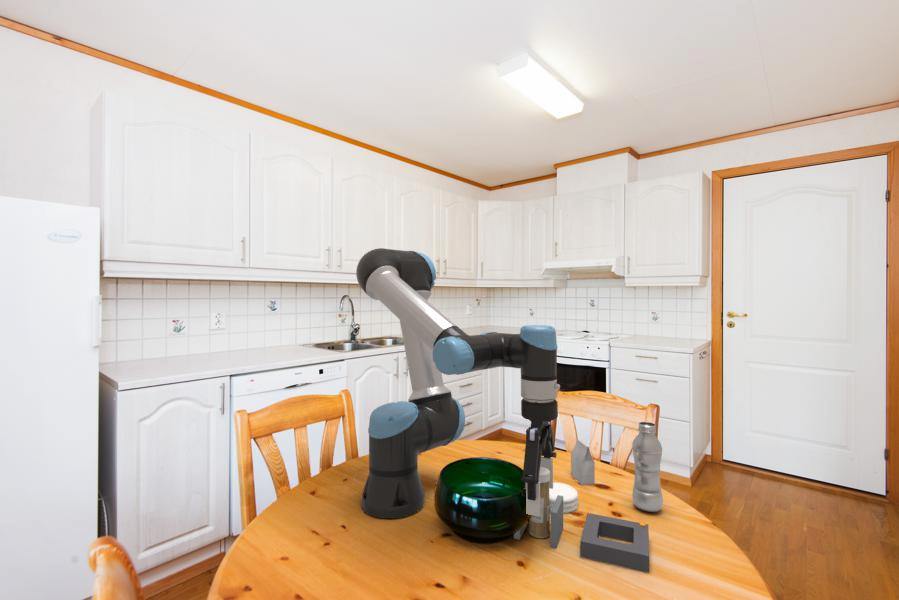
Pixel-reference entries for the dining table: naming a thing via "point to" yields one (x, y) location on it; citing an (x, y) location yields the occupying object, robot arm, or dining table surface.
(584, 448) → the grey gabled carton
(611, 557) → the port block
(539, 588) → the dining table surface
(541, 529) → the sprinkles bottle
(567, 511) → the white round stack
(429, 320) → the robot arm
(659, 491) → the plastic bottle
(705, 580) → the dining table surface
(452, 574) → the dining table surface
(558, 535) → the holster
